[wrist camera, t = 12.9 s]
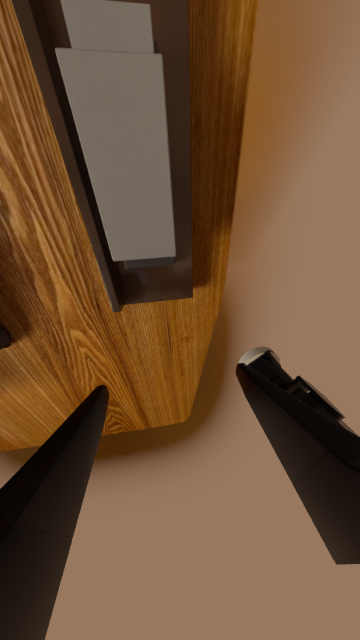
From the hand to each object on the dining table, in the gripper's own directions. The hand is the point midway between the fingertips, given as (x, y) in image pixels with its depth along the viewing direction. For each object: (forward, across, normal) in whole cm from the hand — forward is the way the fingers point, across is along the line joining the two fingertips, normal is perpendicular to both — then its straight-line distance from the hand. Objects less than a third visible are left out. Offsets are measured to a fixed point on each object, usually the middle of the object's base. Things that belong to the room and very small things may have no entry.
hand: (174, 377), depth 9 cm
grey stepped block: (+10, +1, -12) cm, 15 cm away
